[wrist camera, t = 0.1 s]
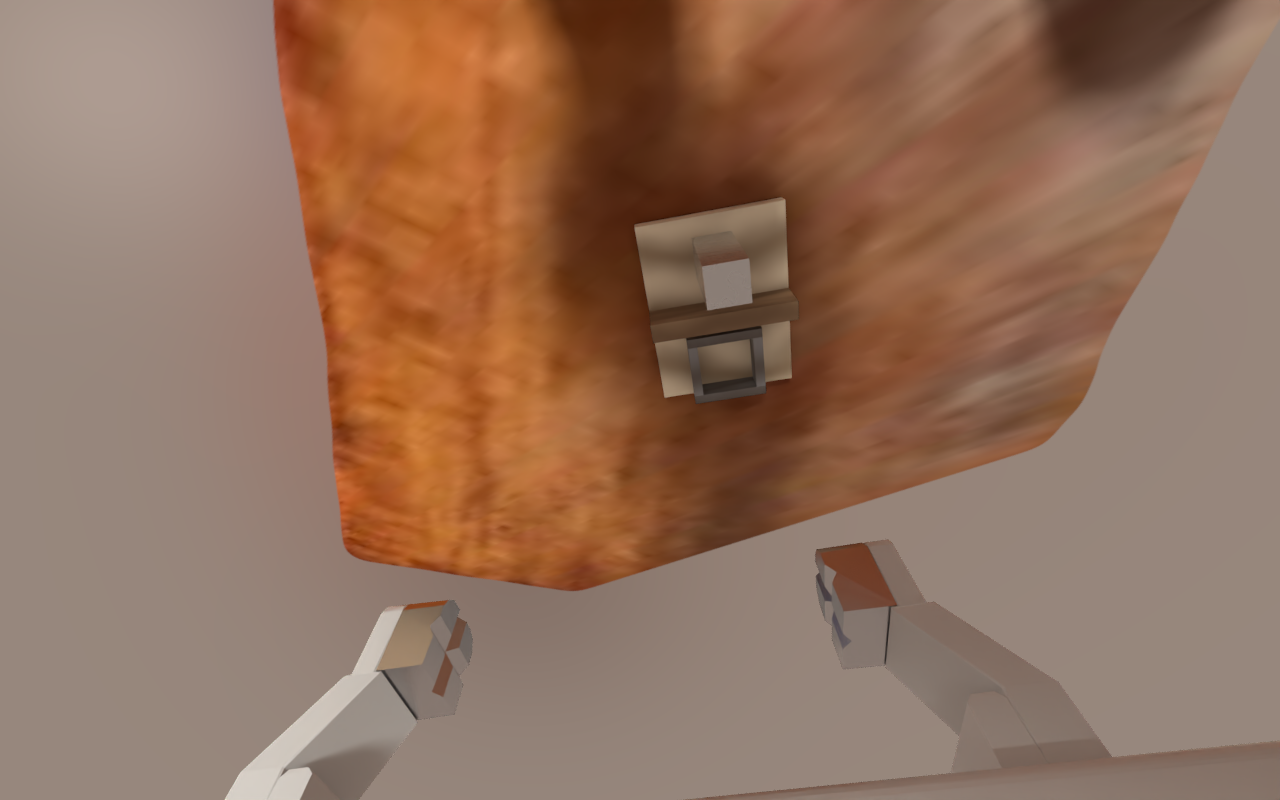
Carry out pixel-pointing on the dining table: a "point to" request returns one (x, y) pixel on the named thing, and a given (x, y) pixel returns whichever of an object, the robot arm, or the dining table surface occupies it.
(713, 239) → the grey square block
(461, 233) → the dining table surface
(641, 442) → the dining table surface
